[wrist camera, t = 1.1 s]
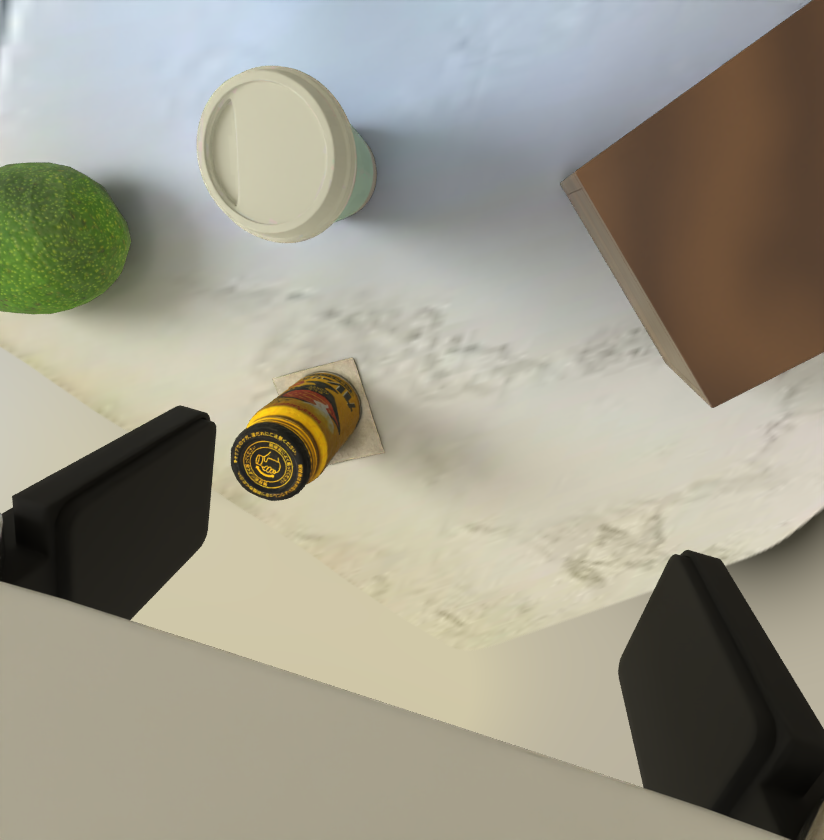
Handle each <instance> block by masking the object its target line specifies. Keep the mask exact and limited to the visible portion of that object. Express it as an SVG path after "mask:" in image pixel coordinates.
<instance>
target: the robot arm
mask: <svg viewBox="0 0 824 840" xmlns="http://www.w3.org/2000/svg"><path fill="white" fill-rule="evenodd" d="M215 439H216V425H215V423H214V422H212V421H210V417H209V415H208V414H207V413H205V412H202V411H198V410H195V409H191V408H188V407H184V406H177V407H175V408H173V409H171V410H169V411H167V412H165V413H164V414H162V415H160V416H158V417H156V418H154V419H153V420H151V421H149V422H147V423H145V424H143V425H142V426H140V427H138V428H136V429H134V430H133V431H131V432H129V433H127V434H125V435H123V436H122V437H120V438H118V439H116V440H114V441H112V442H111V443H109V444H107V445H105V446H104V447H101V448H100V449H98V450H96V451H94V452H92V453H90V454H89V455H87V456H85V457H83V458H81V459H79V460H78V461H76V462H74V463H72V464H71V465H69V466H67V467H65V468H63V469H61V470H59V471H57V472H56V473H54V474H52V475H50V476H48V477H46V478H45V479H43V480H41V481H39V482H37V483H36V484H34V485H32V486H30V487H28V488H26V489H25V490H23V491H21V492H19V493H17V494H15V495H14V496H12V500H13V508H11V509H9V510H8V511H6V512H4V513H3V514H1V513H0V840H824V729H823V727H822V726H821V724H820V722H819V721H818V719H817V717H816V716H815V714H814V712H813V711H812V709H811V707H810V706H809V704H808V702H807V701H806V699H805V697H804V696H803V694H802V693H801V691H800V689H799V688H798V686H797V684H796V683H795V681H794V679H793V678H792V676H791V674H790V673H789V671H788V669H787V668H786V666H785V664H784V663H783V661H782V659H781V658H780V656H779V654H778V653H777V651H776V650H775V648H774V646H773V645H772V643H771V641H770V640H769V638H768V636H767V635H766V633H765V631H764V630H763V628H762V626H761V625H760V623H759V622H758V620H757V618H756V617H755V615H754V613H753V612H752V610H751V608H750V607H749V605H748V603H747V602H746V600H745V599H744V597H743V595H742V593H741V592H740V590H739V588H738V587H737V585H736V584H735V582H734V580H733V579H732V577H731V575H730V574H729V572H728V570H727V569H726V567H725V565H724V564H723V562H722V561H721V560H720V559H718V558H714V557H711V556H707V555H704V554H700V553H697V552H693V551H690V550H686V551H684V552H683V553H682V554H681V555H677V554H675V555H673V556H672V557H671V558H670V559H669V561H668V563H667V565H666V567H665V569H664V571H663V573H662V575H661V577H660V579H659V581H658V583H657V585H656V587H655V589H654V591H653V593H652V595H651V597H650V600H649V602H648V604H647V605H646V607H645V610H644V612H643V614H642V616H641V618H640V620H639V622H638V624H637V626H636V628H635V630H634V632H633V634H632V636H631V638H630V640H629V642H628V644H627V646H626V648H625V650H624V652H623V654H622V657H621V659H620V663H619V670H618V674H619V680H620V685H621V689H622V694H623V698H624V702H625V707H626V712H627V716H628V720H629V725H630V729H631V733H632V738H633V743H634V747H635V751H636V756H637V760H638V765H639V769H640V774H641V778H642V782H643V787H644V788H642V787H639V786H636V785H633V784H630V783H627V782H624V781H621V780H618V779H615V778H612V777H609V776H606V775H603V774H600V773H597V772H594V771H591V770H588V769H585V768H582V767H579V766H576V765H573V764H570V763H567V762H564V761H561V760H558V759H555V758H552V757H549V756H546V755H543V754H540V753H536V752H534V751H531V750H528V749H525V748H522V747H519V746H516V745H512V744H509V743H506V742H503V741H500V740H497V739H494V738H491V737H488V736H484V735H482V734H479V733H476V732H473V731H469V730H466V729H463V728H460V727H457V726H454V725H451V724H448V723H445V722H442V721H439V720H436V719H433V718H430V717H426V716H424V715H421V714H417V713H414V712H411V711H408V710H405V709H402V708H399V707H396V706H392V705H390V704H387V703H384V702H381V701H378V700H374V699H372V698H368V697H365V696H362V695H359V694H356V693H353V692H350V691H347V690H344V689H341V688H338V687H335V686H332V685H328V684H325V683H322V682H319V681H316V680H313V679H310V678H307V677H304V676H301V675H298V674H295V673H291V672H289V671H285V670H282V669H279V668H276V667H273V666H270V665H267V664H264V663H261V662H258V661H255V660H252V659H249V658H245V657H242V656H239V655H236V654H233V653H230V652H227V651H224V650H221V649H218V648H215V647H212V646H208V645H205V644H202V643H199V642H196V641H193V640H190V639H186V638H183V637H180V636H177V635H174V634H171V633H168V632H164V631H161V630H158V629H155V628H152V627H149V626H146V625H143V624H140V623H137V622H133V621H130V620H131V619H132V617H134V616H135V615H136V613H137V612H138V611H139V610H140V609H141V608H142V607H143V606H144V605H145V604H146V603H147V602H148V601H149V600H150V599H151V598H152V597H153V596H154V595H155V594H156V593H157V592H158V591H159V590H160V589H161V588H162V586H164V584H165V583H166V582H167V581H168V580H169V579H170V578H171V577H172V576H173V575H174V574H175V573H176V572H177V571H178V570H179V569H180V568H181V567H182V566H183V565H184V564H185V563H186V562H187V561H188V560H189V559H190V558H191V557H192V556H193V555H194V553H195V552H196V551H197V550H198V549H199V548H200V547H201V546H202V544H203V542H204V541H205V538H206V535H207V531H208V521H209V510H210V498H211V486H212V474H213V463H214V451H215Z"/></svg>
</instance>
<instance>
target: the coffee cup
mask: <svg viewBox="0 0 824 840" xmlns="http://www.w3.org/2000/svg"><path fill="white" fill-rule="evenodd" d="M197 157H198V163H199V168H200V172H201V175H202V178H203V180H204V183H205V185H206V188H207V189H208V191H209V193H210V195H211V197H212V198H213V199H214V201H215V202H216V204H217V205H218V206H219V207H220V208H221V210H222V211H223V212H224V213H225V214H226V215H227V216H228V217H229V218H230V219H231V220H232V221H233V222H235V223H236V224H237V225H238V226H239V227H241V228H242V229H244V230H245V231H247V232H249V233H251V234H253V235H255V236H257V237H260V238H262V239H265V240H268V241H272V242H278V243H296V242H301V241H305V240H308V239H310V238H313V237H315V236H317V235H319V234H320V233H322V232H323V231H325V230H326V229H327V228H328V227H330V226H331V225H332V224H333V223H334V222H337V221H339V220H341V219H344V218H346V217H348V216H350V215H353V214H355V213H357V212H358V211H359V210H361V209H362V208H363V207H364V206H365V205H366V204H367V203H368V201H369V200H370V198H371V196H372V194H373V192H374V189H375V185H376V178H377V170H376V163H375V160H374V157H373V154H372V152H371V150H370V148H369V147H368V145H367V144H366V142H365V141H364V140H363V139H362V137H361V136H360V135H359V134H358V133H357V131H356V130H355V129H354V128H353V127H352V125H351V124H350V123H349V121H348V119H347V116H346V114H345V112H344V110H343V109H342V107H341V105H340V104H339V102H338V101H337V100H336V98H335V97H334V96H333V95H332V93H331V92H330V91H329V90H328V89H327V88H326V87H325V86H324V85H322V84H321V83H320V82H319V81H317V80H316V79H314V78H313V77H311V76H309V75H308V74H306V73H303V72H301V71H298V70H296V69H292V68H287V67H281V66H260V67H255V68H252V69H249V70H246V71H244V72H242V73H240V74H238V75H236V76H234V77H232V78H230V79H229V80H227V81H226V82H224V83H223V84H222V85H221V86H220V87H219V88H218V89H217V90H216V91H215V92H214V93H213V95H212V96H211V97H210V99H209V101H208V102H207V104H206V106H205V108H204V110H203V113H202V116H201V119H200V122H199V127H198V133H197Z"/></svg>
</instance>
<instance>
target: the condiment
mask: <svg viewBox="0 0 824 840" xmlns="http://www.w3.org/2000/svg"><path fill="white" fill-rule="evenodd" d="M272 380H273V382H274V385H275V387H276V390H277V392H278V395H279V396H278V397H277V398H275V399H274V400H273V401H272V402H270V403H269V404H267V405H266V406H264V407H263V408H262V409H261V410H259V411H258V412H257V413H256V414H255V415H254V416H253V418H252V419H251V420H250V422H249V424H248V425H247V428H246V429H244V431H242V432H241V433H240V434H239V436H238V437H237V438H236V440H235V442H234V444H233V446H232V448H231V467H232V470H233V472H234V474H235V476H236V479H237V480H238V482H239V483H240V484H241V486H242V487H243V488H245V489H246V490H247V491H248V492H250V493H252V494H254V495H256V496H258V497H261V498H264V499H267V500H271V501H277V500H284V499H288V498H291V497H293V496H294V495H296V494H298V493H299V492H300V491H301V490H302V489H303V488H304V487H305V485H306V484H308V483H310V482H312V481H313V480H315V479H316V478H317V477H318V476H319V475H320V474H321V473H322V472H323V471H324V469H325V468H326V467H327V466H328V465H329V464H333V463H337V462H342V461H347V460H351V459H357V458H362V457H366V456H370V455H376V454H381V453H384V450H383V447H382V444H381V441H380V437H379V435H378V432H377V429H376V426H375V423H374V420H373V417H372V414H371V410H370V407H369V404H368V401H367V398H366V395H365V392H364V389H363V386H362V383H361V380H360V377H359V374H358V371H357V368H356V365H355V362H354V360H353V357H352V358H348V359H345V360H341V361H337V362H333V363H329V364H325V365H321V366H317V367H314V368H310V369H306V370H303V371H299V372H295V373H291V374H289V375H285V376H281V377H277V378H273V379H272Z"/></svg>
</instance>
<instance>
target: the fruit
mask: <svg viewBox="0 0 824 840" xmlns="http://www.w3.org/2000/svg"><path fill="white" fill-rule="evenodd" d="M130 244H131V238H130V234H129V229H128V225H127V222H126V221H125V219H124V218H123V216H122V215H121V213H120V211H119V210H118V208H117V207H116V205H115V204H114V202H113V201H112V199H111V198H110V196H109V194H108V193H107V191H106V190H105V188H104V187H103V186H102V185H100V184H98V183H97V182H95V181H94V180H92V179H91V178H89V177H88V176H86V175H84V174H82V173H80V172H79V171H77V170H75V169H73V168H71V167H68V166H63V165H58V164H53V163H19V164H8V165H5V166H3V167H1V168H0V311H3V312H12V313H24V314H52V313H56V312H61V311H65V310H69V309H72V308H75V307H77V306H80V305H83V304H85V303H88V302H90V301H91V300H93V299H94V298H96V297H97V296H99V295H101V294H102V293H104V292H105V291H106V290H107V289H108V288H109V287H110V286H111V285H112V284H113V283H114V282H115V281H116V280H117V278H118V277H119V275H120V274H121V272H122V270H123V267H124V264H125V261H126V257H127V254H128V251H129V247H130Z"/></svg>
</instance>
